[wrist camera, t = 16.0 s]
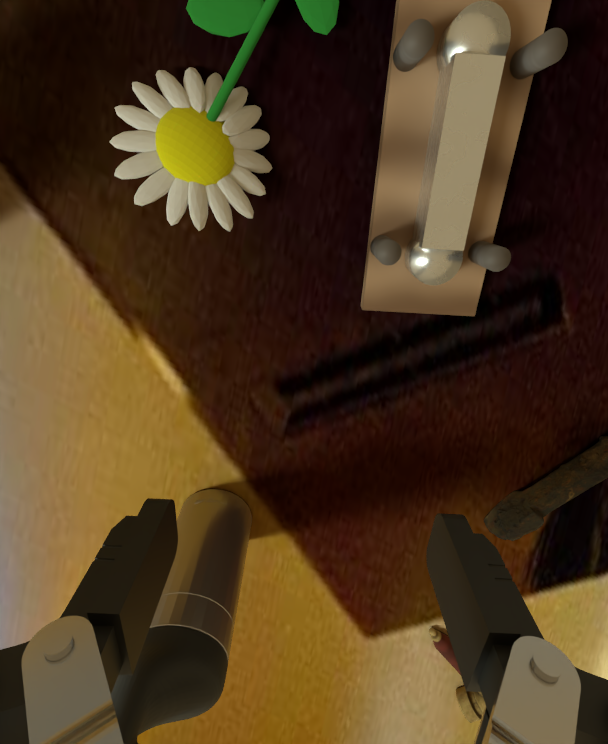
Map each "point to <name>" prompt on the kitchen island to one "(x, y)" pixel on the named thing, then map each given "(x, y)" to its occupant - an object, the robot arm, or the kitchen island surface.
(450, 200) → the ball-ended square rod
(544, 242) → the kitchen island surface
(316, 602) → the kitchen island surface
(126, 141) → the decorative flower
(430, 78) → the rest
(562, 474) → the grey brown long rod
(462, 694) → the gavel
